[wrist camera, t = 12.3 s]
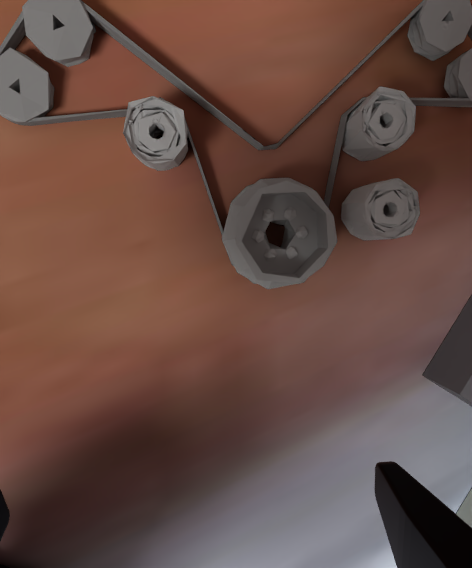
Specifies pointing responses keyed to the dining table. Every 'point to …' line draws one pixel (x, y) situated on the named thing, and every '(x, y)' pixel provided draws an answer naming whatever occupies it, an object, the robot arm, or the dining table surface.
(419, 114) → the dining table surface
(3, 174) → the dining table surface
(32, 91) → the pulley system
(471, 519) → the tray
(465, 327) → the pin socket
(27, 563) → the dining table surface
